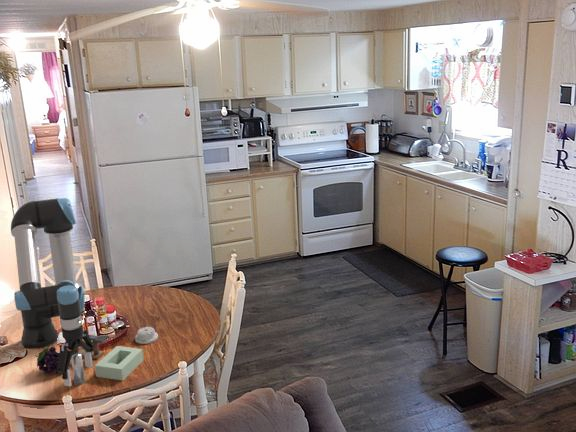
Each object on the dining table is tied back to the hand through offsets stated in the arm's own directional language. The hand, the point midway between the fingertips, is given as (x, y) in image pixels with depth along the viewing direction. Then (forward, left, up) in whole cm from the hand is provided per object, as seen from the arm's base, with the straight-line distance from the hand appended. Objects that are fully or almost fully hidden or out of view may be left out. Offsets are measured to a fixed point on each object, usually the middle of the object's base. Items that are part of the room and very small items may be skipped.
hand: (78, 375), depth 218 cm
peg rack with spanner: (-9, +19, -3) cm, 21 cm away
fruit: (-16, +5, -3) cm, 17 cm away
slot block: (+10, +13, -3) cm, 17 cm away
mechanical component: (+8, +38, -3) cm, 39 cm away
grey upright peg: (0, 0, -3) cm, 3 cm away
